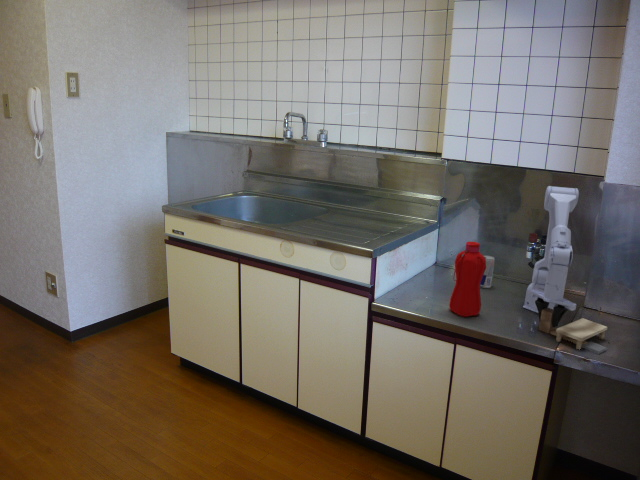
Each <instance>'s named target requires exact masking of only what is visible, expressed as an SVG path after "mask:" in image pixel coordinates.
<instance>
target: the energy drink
mask: <svg viewBox="0 0 640 480" xmlns="http://www.w3.org/2000/svg"><path fill="white" fill-rule="evenodd" d="M482 255H483V254H482ZM483 256H484V257H485V258H486V270H485V272H484V275H483V277H482V280H481V283H480V289H490V288H492V283H493V276H494V269H495V263H496V262H495V260H496V259H495V257H494V256H491V255H488V254H487V255H483Z"/></svg>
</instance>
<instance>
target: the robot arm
mask: <svg viewBox="0 0 640 480" xmlns="http://www.w3.org/2000/svg"><path fill="white" fill-rule="evenodd" d="M579 195H580V191H579V189H578V188H577V187H575V188H573V187H564V186H563V187H561V186H552V185H548V186H547V187H546V189H545V194H544V203H543V204H544V205H543V209H544V210H545V211H546V212H548V215H549V216H548V217H549V219H548V220H549V221H548V227H547V234H546V242H545V250H544V257H543V258H542V259H539V260H537V261H536V262H535V264H534V267H533V271H532V280H531V283H530V284H528V286H527V289H526V292H525V293H526V294H525V297H524V304H523V306H522V308H524V309H527V310H529V311H531V312H534V313H537V314H538V320H539V321H538V322H539V323H540V318H541V312H542V309H545V308H551V309H553V310H554V318H553V323H552V327H555V328H556V327H558V326H559V323H560V321H561V319H562V318H563V316H564V314H566V312H567V311H571V312H572V311H576V308H577V303H574V302H572V301H571V300H568V299H567V298H564V295H565V294H564V293H565V289H566V282H567V277H568V272H569V268H570V267H571V265H572V261H573V257H574V256H573V255H574V252H573V246H572V242H571V241H572V237H571V236H572V232H571V229H570V228H568V224H569V218H570V213H573V211H574V209H575V207H576V206H577V205H578V201H579Z"/></svg>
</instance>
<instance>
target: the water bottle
mask: <svg viewBox="0 0 640 480" xmlns="http://www.w3.org/2000/svg"><path fill="white" fill-rule="evenodd" d="M480 247H481V244H480V242H477V241H467V242H466V244H465V250H461V252H459V253H458V254H457V255H456V258H455V260H454V272H453V273H454V274H453V276H452V277H453V281H454V282H455V285H454V288H453V291H452V293H451V296H450V299H449V304H448V305H449V310H450V311H451V312H453V313H455V314H456V315H458V316H459V317H465V318H467V317H472V316H479V315H480V312H481V308H482V299H481V297H482V296H481V287H480V283H481V280H482V277H483V275H484V272H485V270H486V258H485V257H484V256H483V254H482V253H481V252H480ZM455 276H456V277H455ZM455 278H456V279H455Z"/></svg>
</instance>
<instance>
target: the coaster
mask: <svg viewBox="0 0 640 480" xmlns="http://www.w3.org/2000/svg"><path fill="white" fill-rule="evenodd" d="M587 342H588V343H586V344H583V345H582V346H581V349H583V348H585V349H584V350H586V349H587V350H586V351H588V350H589V351H588V352H591V353H594V354H596V355H600V354H603V353H604V352H606V351H607V349H608V347H606V346H604V345H602V344H599V343H596V342H593V341H587Z"/></svg>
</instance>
